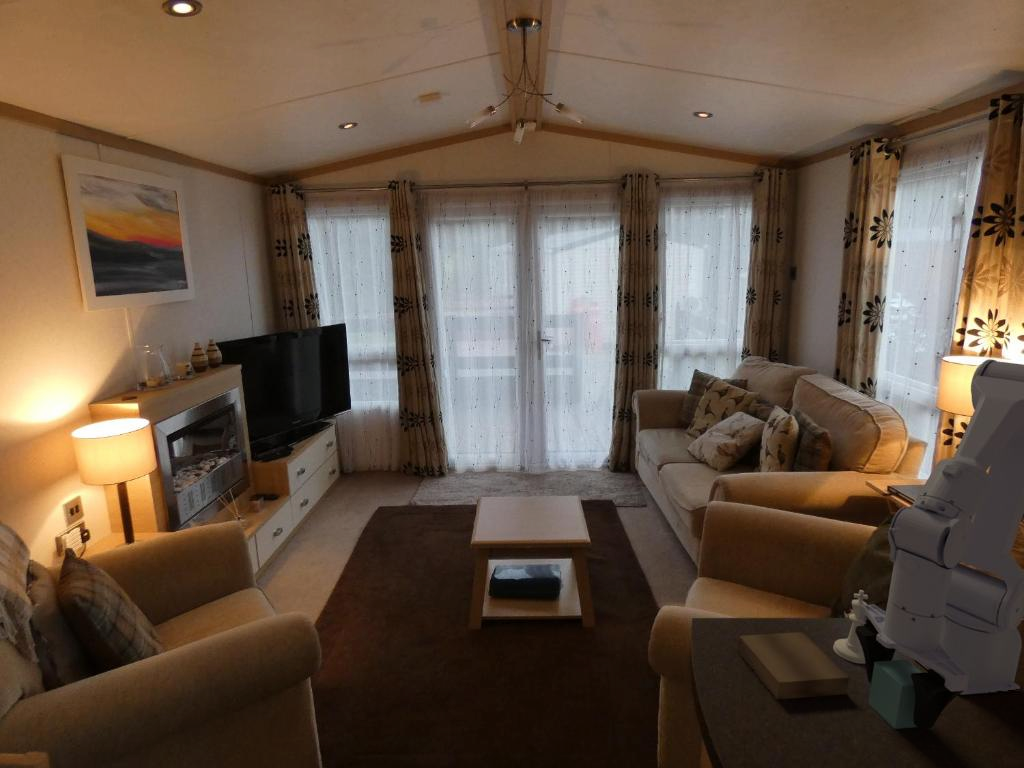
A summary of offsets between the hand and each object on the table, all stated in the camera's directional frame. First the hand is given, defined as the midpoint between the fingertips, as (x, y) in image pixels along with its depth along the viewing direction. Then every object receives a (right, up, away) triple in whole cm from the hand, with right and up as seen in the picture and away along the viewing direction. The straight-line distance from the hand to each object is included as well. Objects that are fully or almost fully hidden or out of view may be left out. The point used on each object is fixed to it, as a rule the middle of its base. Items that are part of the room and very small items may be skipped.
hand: (898, 702), depth 75 cm
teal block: (0, -2, 0) cm, 2 cm away
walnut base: (-10, 0, +8) cm, 13 cm away
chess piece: (+1, 0, +12) cm, 12 cm away
